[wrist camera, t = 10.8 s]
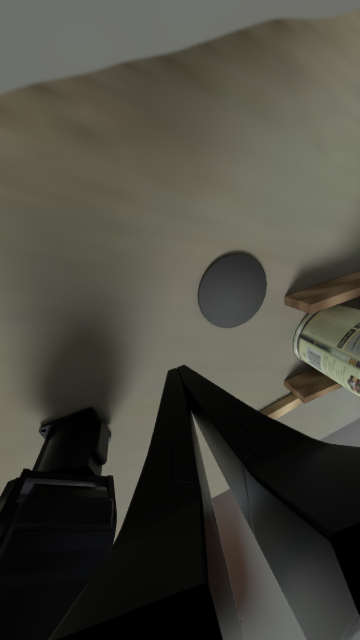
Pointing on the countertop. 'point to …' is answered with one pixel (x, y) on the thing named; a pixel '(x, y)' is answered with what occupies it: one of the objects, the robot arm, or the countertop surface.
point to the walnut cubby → (311, 302)
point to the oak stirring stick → (282, 406)
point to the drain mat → (232, 290)
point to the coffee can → (332, 344)
